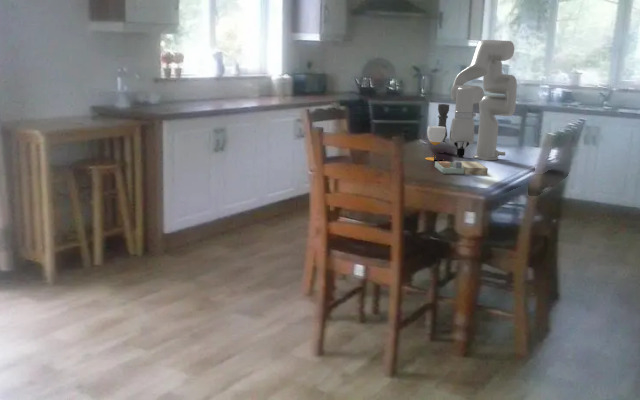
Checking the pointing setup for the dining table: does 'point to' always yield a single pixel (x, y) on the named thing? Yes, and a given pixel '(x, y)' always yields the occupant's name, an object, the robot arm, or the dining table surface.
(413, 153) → the dining table surface
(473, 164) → the birch platform
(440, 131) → the cup
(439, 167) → the box
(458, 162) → the slate tile
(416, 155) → the dining table surface
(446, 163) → the terracotta tile
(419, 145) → the dining table surface
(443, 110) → the candle holder
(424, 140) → the dining table surface
